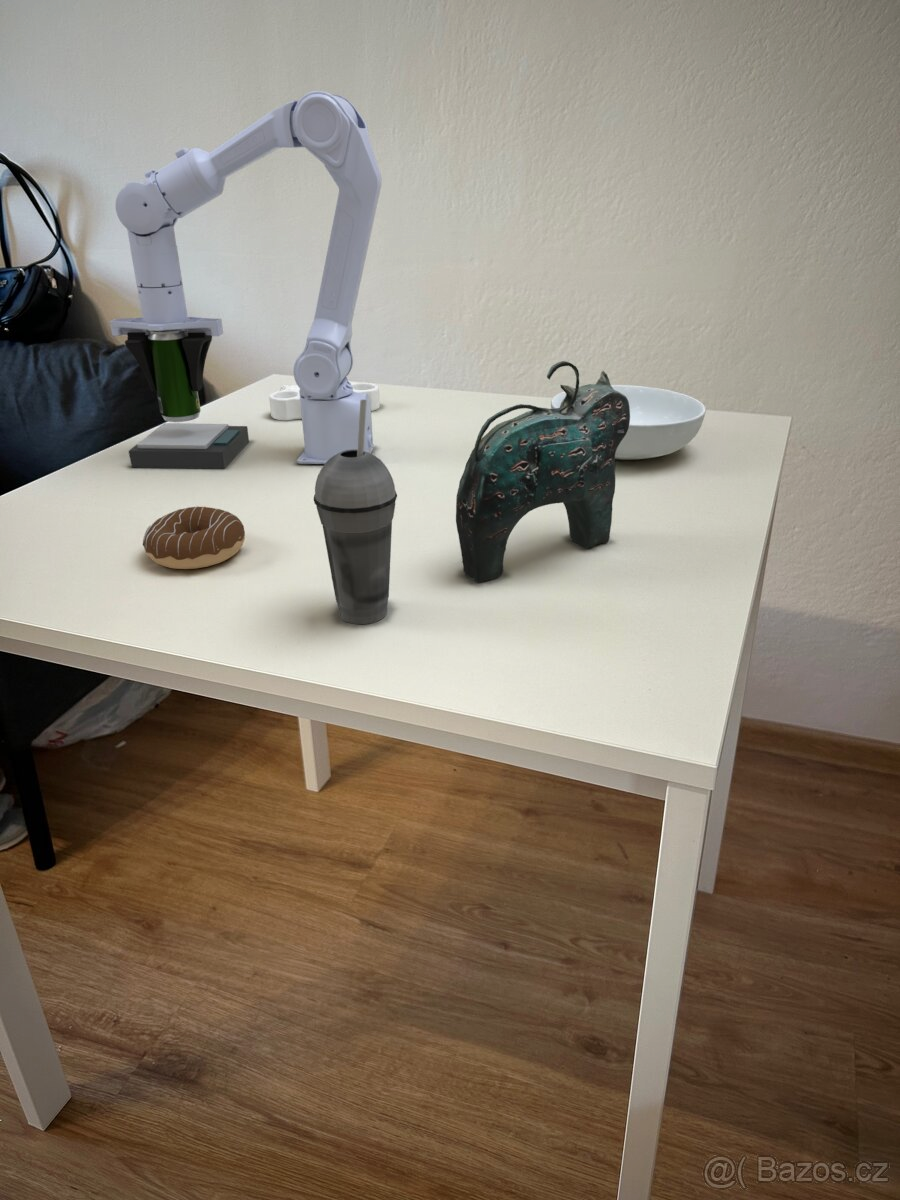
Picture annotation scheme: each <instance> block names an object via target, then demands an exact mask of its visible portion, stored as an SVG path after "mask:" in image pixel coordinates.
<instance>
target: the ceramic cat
mask: <svg viewBox="0 0 900 1200" xmlns="http://www.w3.org/2000/svg"><path fill="white" fill-rule="evenodd" d="M562 367H570V368H571V369H572V370H573V372H574V374H575V375H574V376H575V387H573V386H570V385H566V384H560V385H559V386H560V389H562V391H563V392H564V391H565V393H566V396H565V398H564V399H563V401H562V402H561V405H560V408H555V409H551V408H549V407H548V408H547V407H539V406H535V405H531V404H521V403H520V404H519V403H518V404H515V405H513V406H509V407H507V408H504V409H502V410H500V411H498V412H496V413H495V414H493V415H492V416H490V417H489V418H487V419H486V421H485V422H484V424H483V425H482V426H481V428H480V430H479V432H478V435H477V437H476V440H475V444H474V448H473V449H472V450H471V453H469V454H470V455H469V457H468V459H467V461H466V463H465V467H464V470H463V473H462V475H461V477H460V480H459V484H458V488H457V492H456V497H455V498H456V499H455V500H456V501H455V524H456V525H455V526H456V531H457V535H458V542H459V548H460V554H461V561H462V568H463V569H462V570H463V573H464V575H465V576H467V577H469V578H471V579H473V580H474V581H475V582H477V583H479V584H480V583H484V582H488V581H492V580H495V579H498V578H499V577H501V576H502V575H503V573H504V559H505V553H506V550H507V544H508V540H509V537H510V535H511V533H512V532H513V530H514V529H515V527H516V526H517V524H518V523H519V522H520V520H522V519H523V517H524V516H526V515H527V514H528V513H530V512H531V511H533V510H536V509H538V508H541V507H544V506H548V505H555V504H563V506H564V508H565V511H566V515H567V521H568V529H569V530H568V531H569V538H570V540H571V541H572V542H574V543H575V544H577V545H579V546H581V547H584V548H585V549H587V550H589V549H591V548H593V547H595V546H597V545H600V544H605V543H609V541H610V537H611V527H612V522H613V520H612V519H613V501H614V497H615V493H616V459H615V453H616V450H617V447H618V446H619V444H620V442H621V441H622V439H623V438H624V437H625V435H626V433H627V431H628V428H629V423H630V406H629V401H628V399H627V397H626V396H625V395H623V394H622V393H620V392H618V391H616V390H614V389H613V388H612V386H611V385H612V384H611V382H610V379H609V376H608V374H607V373H606V371H604V370H602V371H601V373H600V375H599V379H597V382H595V383H589V384H584V385H580V372H579V369H578V368H577V365H575V364H573V363H572V362H569V361H566V360H562V361H558V362H556V363H555V364H552V365H551V367H550V368H549V369H548V371H547V375H546V378H547V379H548V380H549V381H550V380H551V378H552V376H553V375H554V374H555V372H556V371H557V370H559V369H560V368H562ZM521 409H527V410H528V411H526V412H524V413H521V414H519V415H517V416H515V417H513V418H510V419H508V420H504V421H502V422H500V423H498V424H496V425H495V426H493V427H492V428H491V429H490V430H489V431H488V429H489V428H490V426H491V424H492V423H494V421H496V420H497V419H499V418H501V417H503V416H505V415H507V414H509V413H511V412H513V411H516V410H521ZM487 431H488V432H487ZM486 432H487V433H486ZM485 433H486V434H485Z"/></svg>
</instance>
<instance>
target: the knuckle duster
mask: <svg viewBox="0 0 900 1200" xmlns="http://www.w3.org/2000/svg"><path fill="white" fill-rule="evenodd" d="M349 382H350V383H351V386H353V391H354V392H357V393H365V394H368V395H369V398H370V403H371V412H374V411H376V410H378V409H379V408H380V407H381V401H380V387H379V385H377V384H375V383H370V382H355V381H350V380H349ZM279 389H280V390H278V391H273V392H272V393H270V394H269V396H268V399H269V400H268V401H269V409H270V415H271V418H273V419H275V420H277V421H278V420H279V421H287V422H288V421H294V420H302V414H301V403H300V393H299V390H300V388H299V387H298V385H297V384H291V385H287V384H282V385H280V387H279Z"/></svg>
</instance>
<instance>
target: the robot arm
mask: <svg viewBox="0 0 900 1200" xmlns="http://www.w3.org/2000/svg"><path fill="white" fill-rule="evenodd" d="M282 148H288V149H289V148H295V149H297V148H305V149H306V150H307V151H308V152H309V153H310V154H311V155H312V156H314V157H315V158H316V159H317V160H319V161H320V162H321V163H322V164H323V165H324V167H325V169H326V170H327V172H328V173H329V175H330V176H331V178H332V180H333V181H334V182H335V184H336V186H337V188H338V195H337V200H336V205H335V209H334V216H333V220H332V225H331V230H330V235H329V240H328V241H329V242H328V246H327V251H326V255H325V262H324V266H323V272H322V276H321V282H320V287H319V292H318V297H317V302H316V308H315V313H314V316H313V321H312V323H311V326H310V329H309V332H308V334H307V337H306V341H305V346H304V348H303V350H302V351H301V353H300V354H299V356H298V357H297V358H296V359H295V362H294V366H293V373H292V374H293V378H294V381H295V383H296V385H298V387H299V388H300V390H299V393H300V403H301V414H302V419H301V422H302V423H301V424H302V434H303V435H302V436H303V445H304V449H303V451H302V452H301V454H300V456H299V457H298V458H297V461H296V462H297V464H298V465H299V464H301V465H302V464H303V465H324V464H325V463H326V462H327V461H328V460H329V459H330V458H331V457H333V456H334V455H336V454H338V453H340V452H343V451H346V450H357V449H358V433H359V416H360V400H362V399H364V400H367V403H366V419H365V435H364V451H366V452H369V453H371V454H372V451H373V450H374V448H375V444H374V439H373V438H374V437H373V420H372V419H373V418H372V411H371V403H370V398H369V395H368V394H365V393H357V392H354V391H353V386H351V383H350V382H349V381H350V380H349V378H348V376H349V375H350V373H351V371H352V368H353V366H354V357H353V356H354V355H353V352H352V349H351V347H352V346H351V342H352V336H353V328H352V327H353V326H352V323H353V318H354V315H355V309H356V304H357V301H358V295H359V291H360V286H361V282H362V277H363V272H364V267H365V265H366V264H365V263H366V259H367V254H368V250H369V245H370V240H371V235H372V230H373V225H374V222H375V217H376V213H377V207H378V203H379V198H380V194H381V189H382V175H381V172H380V171H381V170H380V168H379V164H378V162H377V158H376V155H375V152H374V149H373V145H372V142H371V139H370V135H369V129H368V124H367V122H366V121H365V120H364V118H363V117H362V115H361V114H360V113H359V111H358V110H357V109H356V107H355V105H354V104H353V103H352V102H351V101H350V100H349V99H348V98H346V97H344V96H343V95H340V94H335V93H334V94H331V93H330V92H327V91H323V90H313V91H309V92H308V93H305V94H304V95H303V96H302V97H301V98H300V99H298V100H295V99H294V100H292V101H288V102H286V103H284V104H282V105H280V106H278V107H276V108H275V109H273V110H271V111H269V112H268V113H267V114H264V115H263V116H262V117H260V118H259V119H257V120H256V121H254V122H253V123H252V124H250V125H249V126H247V127H245V128H244V129H243V130H241V131H240V132H238V133H237V134H235V135H234V136H232V137H231V138H229V139H227V141H225V142H223V143H222V144H220V145H219V146H217V147H216V148H215V149H213V150H211V151H210V152H209V151H206V150H204V149H201V148H199V147H193V148H192V149H190V150H189V148H187V147H182V148H180V149H178V150H177V151H175V152H174V154H175V156H176V157H177V158H176V159H174V160H172V161H170V162H169V163H167V164H166V165H163V167H161V168H159V169H157V170H155V169H149V170H148V171H146V172H144V176H145V182H141V181H129V182H127V183H126V184H125V186H123V188H122V189H120V190H119V192H118V194H117V196H116V199H115V213H116V215H117V218H118V220H119V221H120V223H121V224H122V226H124V228H126V231H127V236H128V242H129V248H130V249H129V250H130V254H131V260H132V267H133V271H134V277H135V283H136V289H137V294H138V300H139V307H140V312H141V317H127V318H114V319H112V320H109V325H110V330H111V331H110V332H111V335H112V337H121V336H127V337H126V338H127V339H126V340H125V341H124V345H125V347H126V349H127V350H128V351H129V352H130V354H132V355H131V356H132V357H134V359H135V360H136V362H137V364H138V365H139V367H140V368H141V370H142V372H143V374H144V376H145V378H146V380H147V383H148V386H149V388H150V391H151V392H157V390H156V385H155V379H154V373H153V367H152V361H151V356H150V350H149V344H148V338H147V337H148V334H149V332H148V330H149V331H163V330H178V329H179V330H181V331H184V333H185V334H186V335H188V338H185V339H183V340H182V345H183V347H184V350H185V353H186V357H187V361H188V365H189V370H190V378H191V385H192V389H193V391H198V392H199V391H201V390H202V389H203V387H204V385H203V383H204V372H205V364H206V359H207V355H208V352H209V349H210V345H211V343H212V341H213V337H220V336H221V335H223V334H224V330H223V328H224V327H223V321H222V318H210V317H209V318H208V317H198V316H197V317H195V316H189V315H188V311H187V304H186V297H185V291H184V284H183V277H182V270H181V264H180V257H179V251H178V246H177V240H176V233H175V225H176V224H177V222H178V219H182V218H184V217H185V216H188V215H189V214H191V213H192V212H194V211H196V210H197V209H199V208H201V207H203V206H204V205H206V204H208V203H209V202H211V201H212V200H214V199H216V198H218V197H219V196H221V195H223V192H224V189H225V184H226V179H227V178H229V176H232V175H233V174H235V173H237V172H239V171H241V170H243V169H244V168H246V167H248V166H250V165H252V164H253V163H255V162H257V161H259V160H261V159H262V158H264V157H266V156H268V155H270V154H272V153H274V152H275V151H277V150H279V149H282Z"/></svg>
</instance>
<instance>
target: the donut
mask: <svg viewBox="0 0 900 1200" xmlns="http://www.w3.org/2000/svg"><path fill="white" fill-rule="evenodd" d="M245 538H246V531H245V526H244V524H243V523H242V521H241V519H240V518H239V517H238V516H237V515H235V514H234V513H231V512H229V511H227V510H224V509H221V508H214V507H208V506H189V507H185V508H179V509H176V510H174V511H172V512H169V513H167V514H164V515H163V516H161V517H158V518H157V519H156V520H154V521H153V522H152V523H151V524H150V525H149V526H148V527H146V530H145V532H144V535H143V539H142V547H143V548H144V551H145V553H146V555H147V556H148V557H149V559H151V560H152V561H153V562H154V563H156V564H158V565H160V566H163V567H166V568H169V569H176V570H177V569H178V570H192V569H193V570H195V569H200V568H208V567H211V566H213V565H218V564H220V563H222V562H225V561H226V560H229V559H231V558H232V557H233V556H235V555H236V554H237V553H238V552H239V551H240V550H241V548H242V547H243V544H244V542H245Z"/></svg>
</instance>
